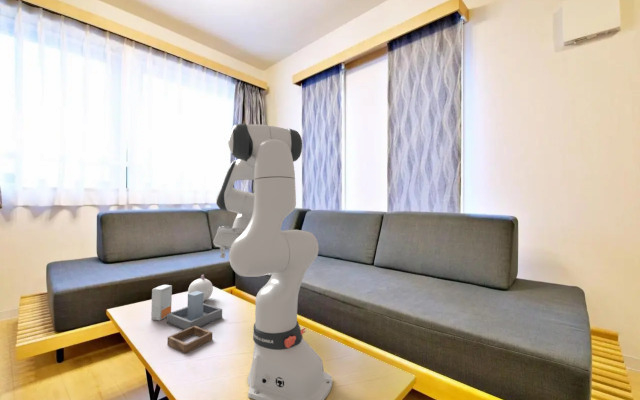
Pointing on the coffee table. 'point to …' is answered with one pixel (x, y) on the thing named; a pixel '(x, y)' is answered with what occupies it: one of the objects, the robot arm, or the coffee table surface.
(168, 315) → the charcoal tray
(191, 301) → the slate block
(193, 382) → the coffee table surface
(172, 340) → the walnut holder
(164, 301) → the skincare box
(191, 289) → the ornament
